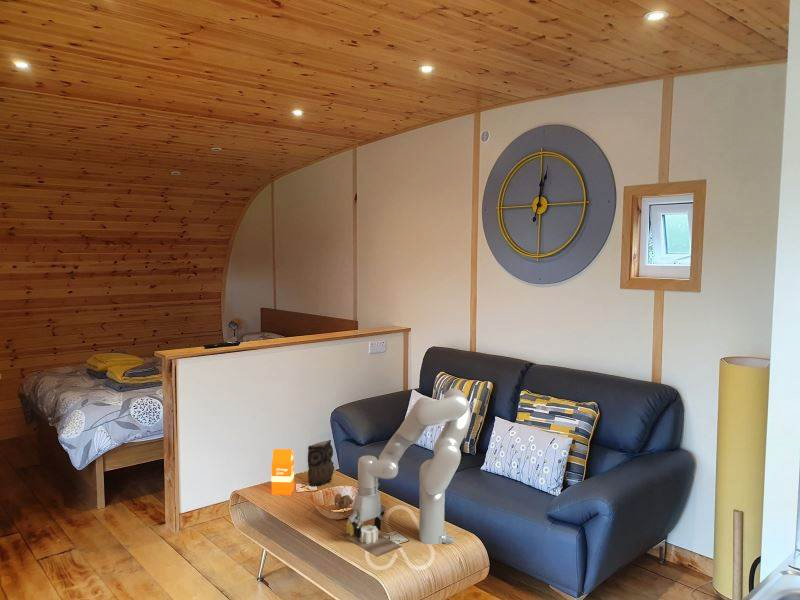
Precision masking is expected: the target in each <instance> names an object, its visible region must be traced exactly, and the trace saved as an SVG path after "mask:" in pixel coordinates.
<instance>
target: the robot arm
mask: <svg viewBox="0 0 800 600" xmlns="http://www.w3.org/2000/svg"><path fill="white" fill-rule="evenodd" d="M471 417H472V416H471V406H470V403H469V401H468V398H467V397H466V395H465V393H464V392H463V391H461V389H459V388H457V387H456V388H455V387H454V388H453V387H451V388H449V389H447V390H446V391H445V393H444V394H443V398H442V399H438V400H435V401H433V400H432V399H431V398H429V397H420V398H418V399H417V400H416V401H415V402H414V404H413V406H412V407H411V409H410V411H408V413H407V415H406V416H405V417H404V420H403V421H402V423H401V424H400V426H399V428H398V429H397V430H396V431H395V432H394V434H393V435H392V437H391V438H390V439H389V440H388V442H387V443H386V445H385V446H384V448H382V449H383V450H382V451H381V453H380V455H379V457H378V458H377V457H376V456H374V455H371V454H370V455H369V454H368V455H367V454H366V455H362V456H360V457H359V458H358V460H357V461H358V462H357V492H356V493H355V497H354V501H353V512H352V514H351V515H349V516H348V520H349V521H350V523H351V524H352V525H353V526H354V536H356V537H357V538H361V528H360V525H361V523H362V522H364V521H365V522H366V521H370V520H373V519H374V523H373V524H374V525H373V526H376V527H377V529H378V532H381V531H382V520H383V518H384V515H385V511H386V510H387V506H386V505H384V504H381V497H380V492H379V489H378V488H379V487H380V483H379V479H383V480H392V479H395V478H396V477H397V476H398V473H399V461H400V460H401V458H402V456H403V455H404V453H405V452H406V450H407V449H408V448H409V447H410V446H411V445H415V444H416V443H418V442H419V440H420V438H421V437H422V435H423V433H424V432H425V431H426V429H427V427H431V426H434V425H435V426H436V425H440V424H443V423H445V424H444V426H443V428H442V430H441V431H440V433H439V435H438V437H437V438H436V441H435V442H434V445H433V455H434V456H433V457H432V459H427V460H424V461H423V463H422V464H421V465H420V468H419V470H418V471H419V473H418V474H419V476H418V479H419V480H418V481H419V509H418V510H419V511H418V512H419V515H418V516H419V521H418V523H419V525H418V526H419V527H418V528H419V529H418V539H419V541H420V542H421V543H423V544H426V545H430V546H431V545H432V546H433V545H443V544H446V545H448V544H452V545H454V544H455V538H454V535H451V534H447V529H445V502H446V501H445V499H446V494H445V493H446V490H447V489H448V486H449V485H450V483H451V481H452V480H453V477H454V475H455V473H456V471H457V469H458V467H459V465H460V463H461V459H462V453H461V449H460V447H461V444H462V443H463V441H464V439H465V436H466V435H467V432H468V430H469V427H470V424H471ZM354 518H355V521H354ZM358 521H359V522H358ZM357 522H358V524H357Z"/></svg>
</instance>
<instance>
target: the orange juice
mask: <svg viewBox="0 0 800 600" xmlns="http://www.w3.org/2000/svg"><path fill="white" fill-rule="evenodd" d="M294 489H295V458H294V452H293V449H292V448H291V449H290V448H288V449H286V448H273V451H272V459H271V495H272V496H275V495H276V496H277V495H278V496H280V495H281V496H291V495H292V493H293V491H294Z"/></svg>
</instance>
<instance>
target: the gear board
mask: <svg viewBox="0 0 800 600" xmlns="http://www.w3.org/2000/svg"><path fill="white" fill-rule="evenodd" d="M367 531H369V530H367ZM337 534H338V535H339V536H341V537H343V538H344V539H346V540H347V541H349V542H351V543H352V544H354V545H356V546H357V547H360V549H363V550H364V551H366V552H368V553H369V554H371V555H373V556H374V557H376V558H378V557H380V556H383V555H386V554H388V553H390V552H393V551H395V550H397V549H401V548H403V546H402V545H400V544H398V543H396V542H395V541H392V540H391V539H390V538H388V537H386V536H384V535H382V534H381V533H378V540H376V542H374V543H373V542H371V543H369V544H366V542H360V539H359V538H357V537H356V536H350V534H347V530H345V531H341V532H339V533H337Z"/></svg>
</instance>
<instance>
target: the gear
mask: <svg viewBox="0 0 800 600" xmlns="http://www.w3.org/2000/svg"><path fill="white" fill-rule="evenodd" d="M354 521H355V518H354ZM358 522H359V521H358ZM358 522H357V524H358ZM362 526H366V521H364V522H362V523H361V525H360V528H362ZM346 531H347V534H350V536H354V526H353V525H352V524H351V523H350V521H349V519H348V520H347V522H346Z"/></svg>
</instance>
